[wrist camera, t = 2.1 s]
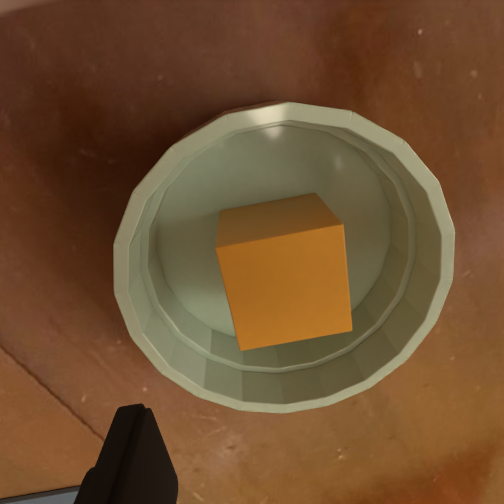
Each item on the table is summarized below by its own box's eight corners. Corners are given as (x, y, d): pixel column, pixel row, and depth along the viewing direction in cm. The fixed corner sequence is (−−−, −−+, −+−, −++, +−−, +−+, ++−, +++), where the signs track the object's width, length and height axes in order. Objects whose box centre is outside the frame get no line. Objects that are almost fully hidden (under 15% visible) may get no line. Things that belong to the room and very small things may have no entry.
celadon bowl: (179, 367, 23) (166, 434, 18) (103, 133, 17) (57, 147, 13) (405, 326, 23) (449, 385, 18) (400, 75, 17) (463, 68, 12)
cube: (237, 294, 21) (239, 351, 16) (219, 210, 19) (214, 248, 14) (325, 278, 21) (353, 331, 16) (316, 192, 19) (343, 223, 14)
